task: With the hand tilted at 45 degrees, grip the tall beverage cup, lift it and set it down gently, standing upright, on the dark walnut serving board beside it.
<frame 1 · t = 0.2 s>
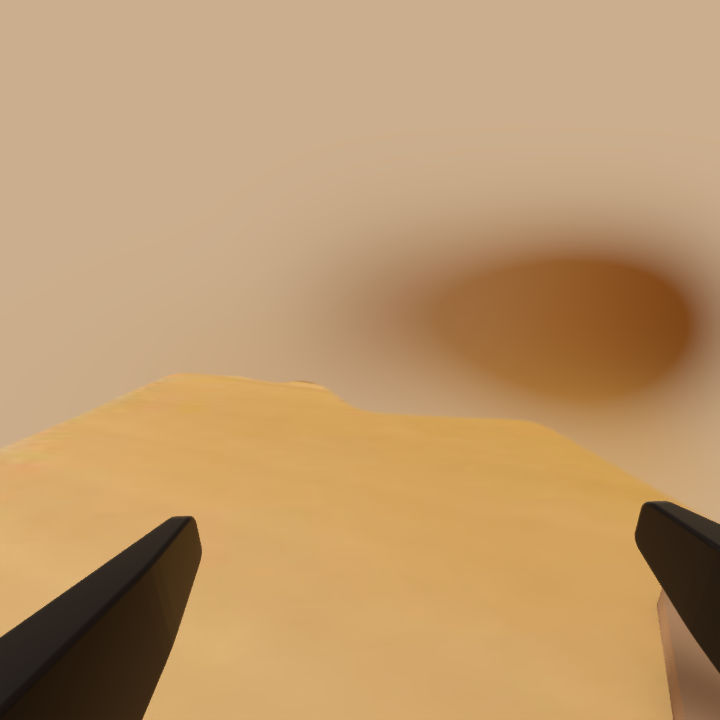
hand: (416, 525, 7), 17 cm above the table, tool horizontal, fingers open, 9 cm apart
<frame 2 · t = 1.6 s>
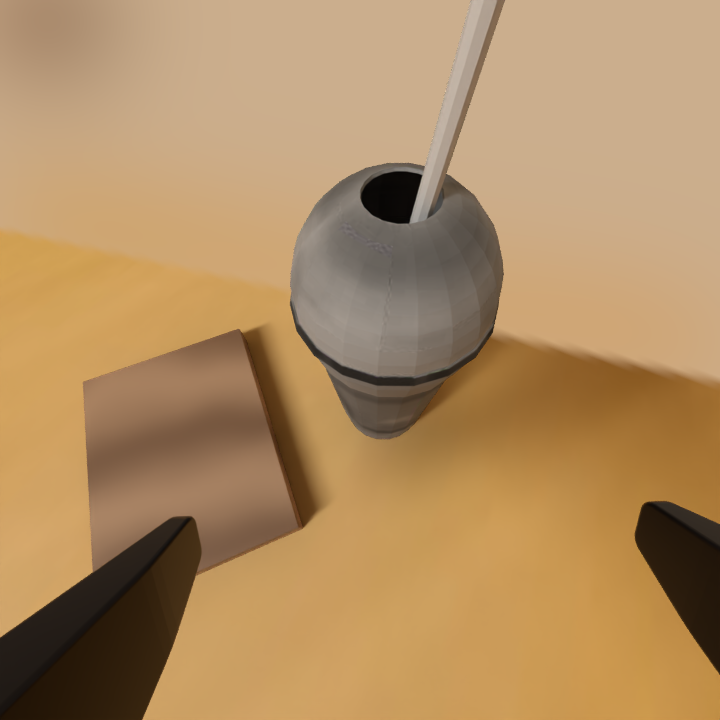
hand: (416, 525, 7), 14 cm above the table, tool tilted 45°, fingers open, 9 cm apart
walnut board: (191, 453, 22), on the table
beverage cup: (382, 405, 23), on the table
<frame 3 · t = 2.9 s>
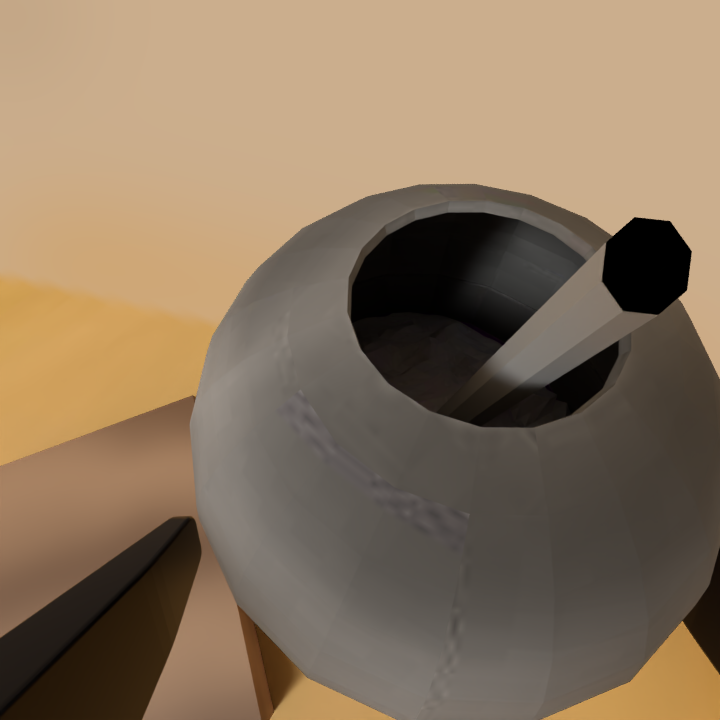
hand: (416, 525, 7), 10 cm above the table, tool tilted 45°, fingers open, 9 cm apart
walnut board: (119, 581, 15), on the table
beverage cup: (388, 503, 17), on the table
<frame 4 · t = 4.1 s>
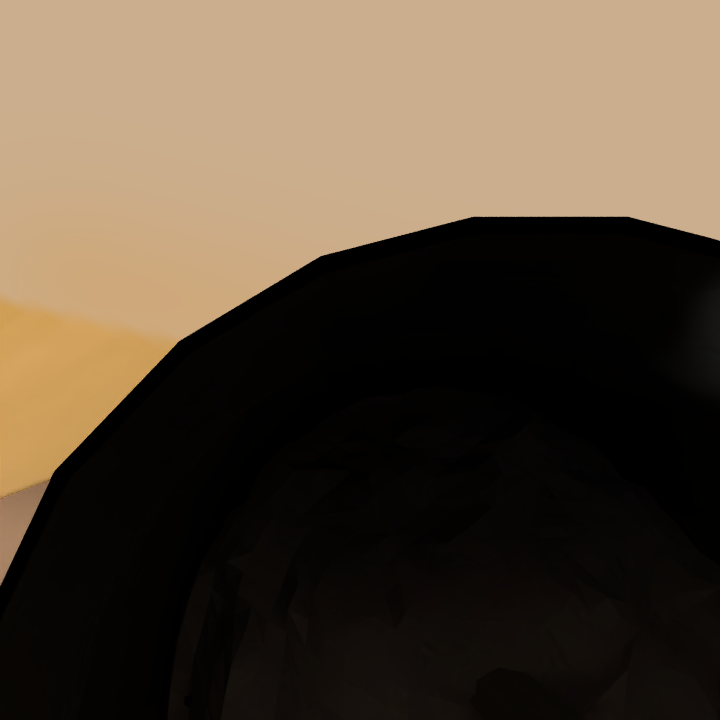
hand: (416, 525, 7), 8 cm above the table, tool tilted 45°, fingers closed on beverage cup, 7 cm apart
walnut board: (58, 681, 12), on the table
beverage cup: (396, 574, 14), on the table, touching gripper
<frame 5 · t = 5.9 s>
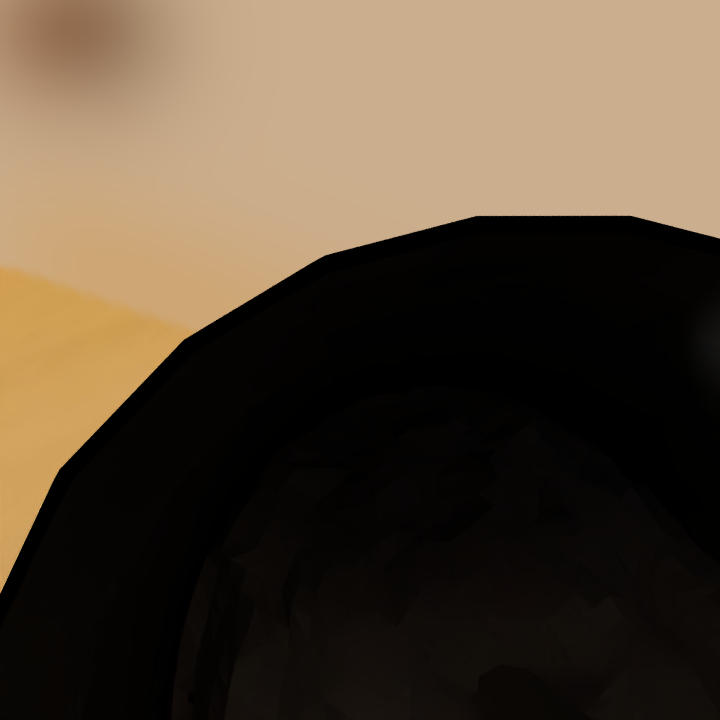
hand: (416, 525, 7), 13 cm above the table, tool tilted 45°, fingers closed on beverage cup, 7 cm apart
beverage cup: (397, 573, 14), point 5 cm above the table, touching gripper
when the fingers open (10 cm above the table, at t = 8.0 s): beverage cup stays where it is, resting on walnut board.
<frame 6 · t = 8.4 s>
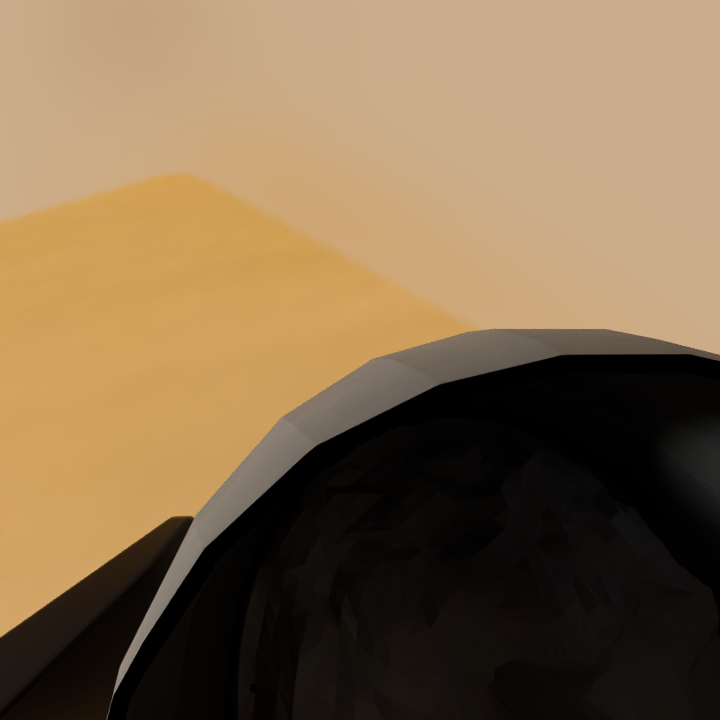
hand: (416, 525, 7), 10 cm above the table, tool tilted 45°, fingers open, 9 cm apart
beverage cup: (404, 576, 14), point 1 cm above the table, touching walnut board
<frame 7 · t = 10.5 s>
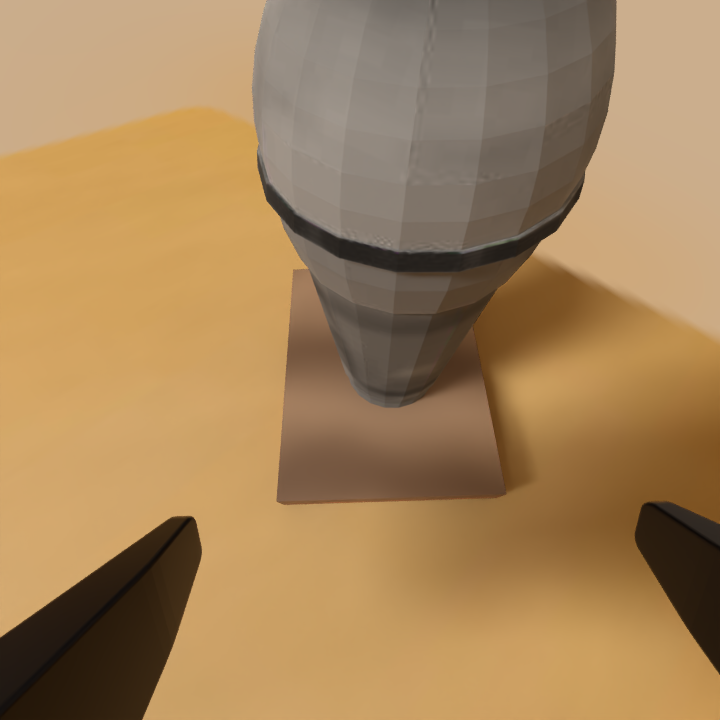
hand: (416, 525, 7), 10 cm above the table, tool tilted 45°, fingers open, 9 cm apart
walnut board: (381, 375, 20), on the table
beverage cup: (390, 368, 19), point 1 cm above the table, touching walnut board
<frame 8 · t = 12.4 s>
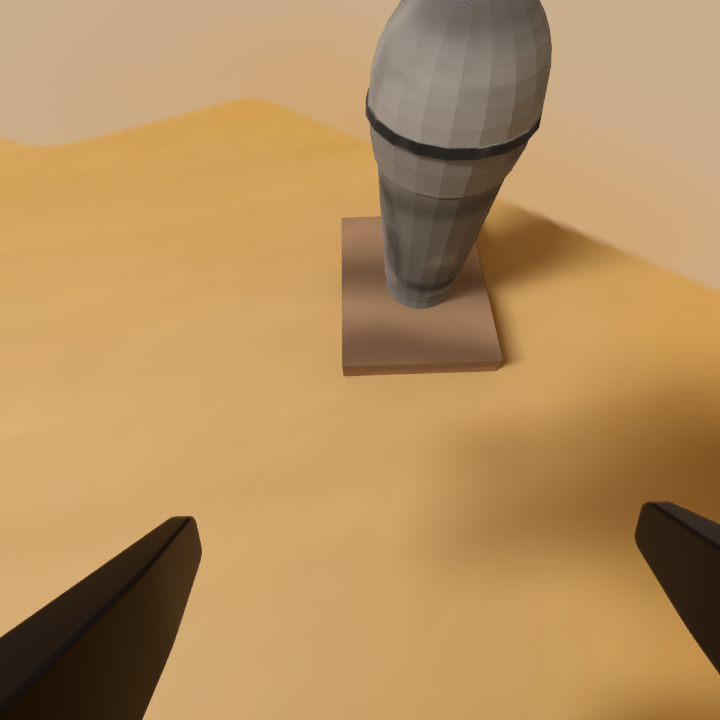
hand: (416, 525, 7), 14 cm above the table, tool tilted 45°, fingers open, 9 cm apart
walnut board: (410, 294, 27), on the table
beverage cup: (418, 284, 25), point 1 cm above the table, touching walnut board
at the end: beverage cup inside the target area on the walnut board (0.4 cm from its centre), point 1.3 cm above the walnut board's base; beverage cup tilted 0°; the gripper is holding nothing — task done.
